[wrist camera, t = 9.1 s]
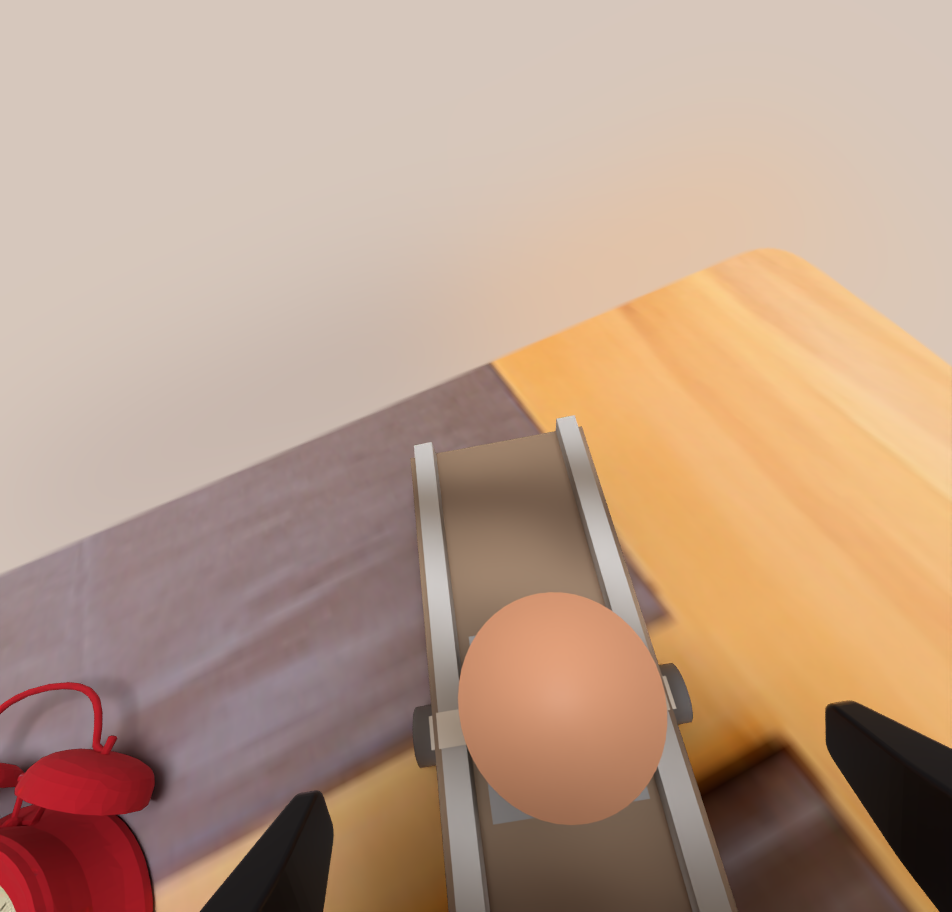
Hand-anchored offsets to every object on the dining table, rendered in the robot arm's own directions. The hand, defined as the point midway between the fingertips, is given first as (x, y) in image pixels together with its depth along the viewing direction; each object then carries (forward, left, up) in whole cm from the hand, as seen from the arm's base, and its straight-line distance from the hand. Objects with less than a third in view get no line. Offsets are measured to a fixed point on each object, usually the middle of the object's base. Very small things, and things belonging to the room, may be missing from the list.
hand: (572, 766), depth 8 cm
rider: (+1, +1, -8) cm, 8 cm away
